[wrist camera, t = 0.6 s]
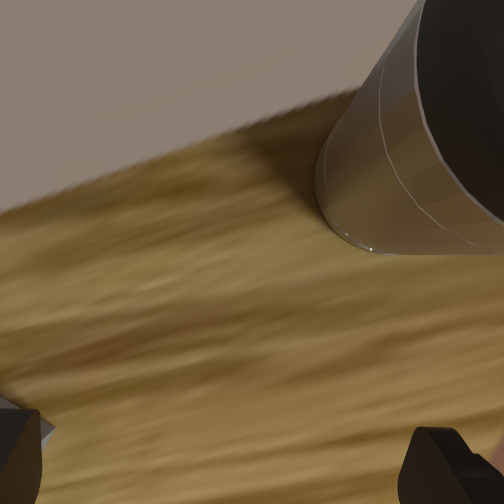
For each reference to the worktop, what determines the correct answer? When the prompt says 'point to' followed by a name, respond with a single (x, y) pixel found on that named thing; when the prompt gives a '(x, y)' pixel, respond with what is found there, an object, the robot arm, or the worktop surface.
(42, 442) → the grey-blue square bottle
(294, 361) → the worktop surface
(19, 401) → the worktop surface
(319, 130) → the worktop surface
